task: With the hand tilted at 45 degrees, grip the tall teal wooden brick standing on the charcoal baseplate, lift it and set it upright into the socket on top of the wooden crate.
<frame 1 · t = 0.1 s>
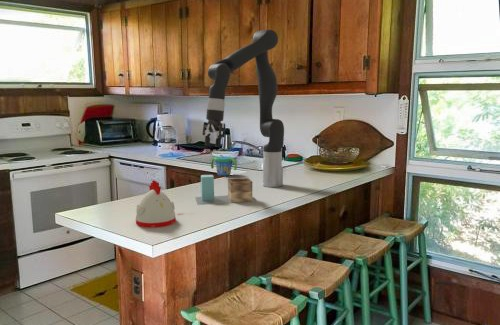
hand: (212, 146, 192), 23 cm above the worktop, tool pointing down, fingers open, 8 cm apart
kitchen timer: (156, 222, 155), on the worktop
snack cup: (223, 175, 249), on the worktop
baseplate: (224, 201, 185), on the worktop
teal brick: (207, 199, 185), point 1 cm above the worktop, touching baseplate
wooden crate: (240, 201, 185), resting on baseplate
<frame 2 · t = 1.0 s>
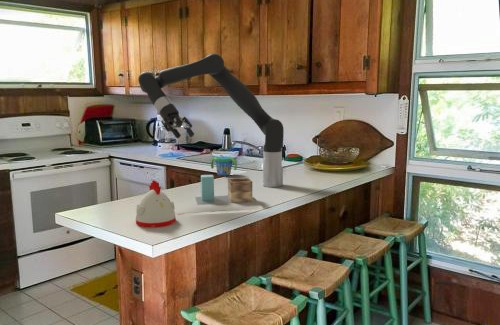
hand: (186, 136, 188), 27 cm above the worktop, tool tilted 45°, fingers open, 8 cm apart
nothing on the worktop moved.
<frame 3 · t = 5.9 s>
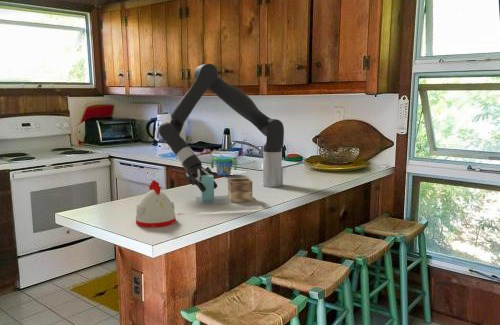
hand: (210, 189, 184), 5 cm above the worktop, tool tilted 45°, fingers closed on teal brick, 7 cm apart
teal brick: (207, 199, 185), point 1 cm above the worktop, touching baseplate, gripper
everything else where it was.
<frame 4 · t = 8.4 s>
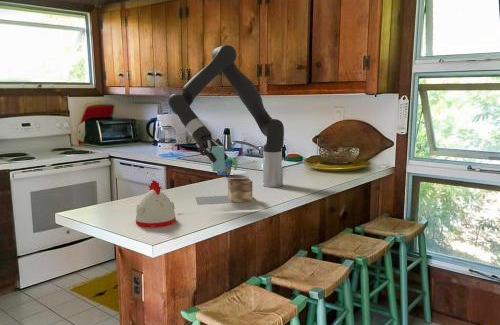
hand: (220, 160, 182), 18 cm above the worktop, tool tilted 45°, fingers closed on teal brick, 7 cm apart
teal brick: (218, 170, 184), point 13 cm above the worktop, touching gripper
everything else where it was.
when the fingers open (13 cm above the worktop, at t = 10.9 s): teal brick stays where it is, resting on wooden crate.
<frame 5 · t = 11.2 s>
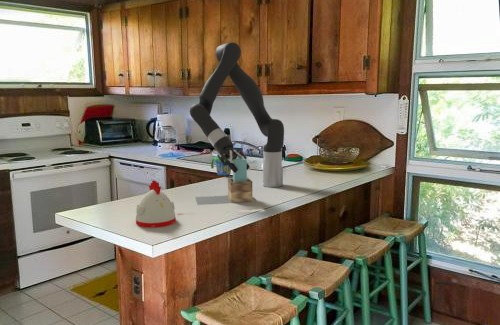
hand: (242, 170, 182), 14 cm above the worktop, tool tilted 45°, fingers open, 8 cm apart
teal brick: (239, 182, 184), point 8 cm above the worktop, touching wooden crate
everything else where it was.
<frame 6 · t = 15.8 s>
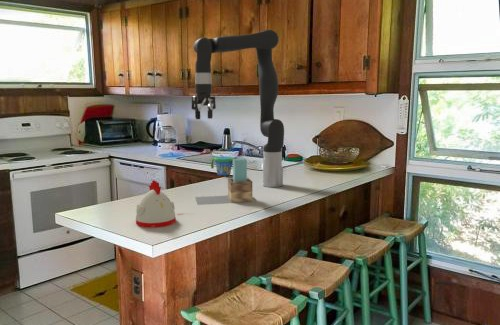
hand: (204, 118, 201), 34 cm above the worktop, tool pointing down, fingers open, 8 cm apart
nothing on the worktop moved.
at the end: teal brick 0.1 cm off-centre on the wooden crate, point 8.0 cm above the wooden crate's base; teal brick tilted 0°; the gripper is holding nothing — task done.
